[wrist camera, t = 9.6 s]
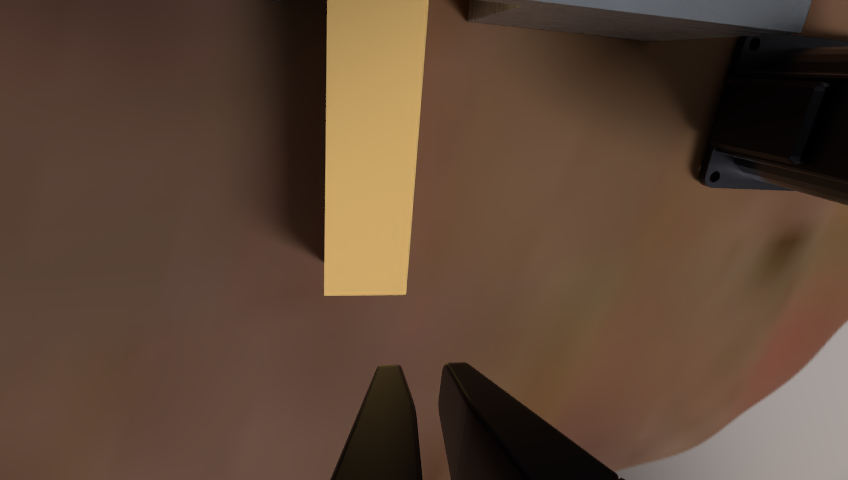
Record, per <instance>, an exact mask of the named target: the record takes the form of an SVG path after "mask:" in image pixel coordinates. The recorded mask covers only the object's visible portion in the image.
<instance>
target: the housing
mask: <svg viewBox="0 0 848 480" xmlns="http://www.w3.org/2000/svg"><path fill="white" fill-rule="evenodd" d="M273 1H282V2H284V0H273ZM811 1H812V0H469V6H468V16H467V22H477V23H486V24H495V25H504V26H514V27H523V28H532V29H541V30H551V31H560V32H569V33H578V34H588V35H597V36H606V37H616V38H625V39H634V40H643V41H668V40H686V39H703V38H721V37H738V36H756V35H774V34H791V33H801V32H802V29H803V26H804V23H805V20H806V17H807V14H808V11H809V8H810V4H811Z"/></svg>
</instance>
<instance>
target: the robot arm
mask: <svg viewBox="0 0 848 480" xmlns="http://www.w3.org/2000/svg"><path fill="white" fill-rule="evenodd" d="M751 40H752V46H751V48H749V43H750V41H751ZM712 173H713V176H712V178H711V179H710V176H711V174H712ZM698 179H699V182H700V183H701V184H702V185H705V186H708V187H711V188H734V189H760V190H787V191H798V192H802V193H805V194H809V195H812V196H816V197H820V198H823V199H827V200H830V201H834V202H837V203H841V204H844V205H848V41H840V40H832V39H823V38H815V37H806V36H798V35H790V34H774V35H756V36H740V38H739V39H738V41H737V43H736V47H735V50H734V54H733V57H732V61H731V64H730V68H729V71H728V75H727V78H726V82H725V85H724V89H723V92H722V96H721V99H720V103H719V106H718V110H717V113H716V117H715V120H714V124H713V127H712V130H711V134H710V137H709V141H708V144H707V148H706V151H705V155H704V158H703V162H702V165H701V169H700V172H699V178H698ZM438 405H439V416H440V421H441V427H442V432H443V438H444V443H445V449H446V454H447V460H448V465H449V471H450V476H451V480H625V479H623V478H620V479H619V478H618V475H617V474H616V473H615V472H614V471H612V470H611V469H609V468H608V467H607V466H605V465H604V464H603V463H601V462H600V461H599V460H597V459H596V458H595V457H593V456H592V455H591V454H589V453H588V452H587V451H585V450H584V449H582V448H581V447H580V446H578V445H577V444H576V443H574V442H573V441H572V440H570V439H569V438H568V437H566V436H565V435H564V434H562V433H561V432H560V431H558V430H557V429H555V428H554V427H553V426H551V425H550V424H549V423H547V422H546V421H545V420H543V419H542V418H541V417H539V416H538V415H537V414H535V413H534V412H533V411H531V410H530V409H529V408H527V407H526V406H524V405H523V404H522V403H520V402H519V401H518V400H516V399H515V398H514V397H512V396H511V395H510V394H508V393H507V392H506V391H504V390H503V389H502V388H500V387H499V386H497V385H496V384H495V383H493V382H492V381H491V380H489V379H488V378H487V377H485V376H484V375H483V374H481V373H480V372H479V371H477V370H476V369H475V368H473V367H472V366H471V365H469V364H467V363H465V362H459V363H446V364H445V365H444V367H443V370H442V377H441V385H440V393H439V404H438ZM330 480H422V469H421V459H420V448H419V438H418V427H417V417H416V410H415V405H414V402H413V399H412V396H411V393H410V390H409V387H408V384H407V381H406V378H405V376H404V373H403V370H402V368H401V366H400V365H380V366H378V367H377V369H376V372H375V374H374V376H373V379H372V381H371V384H370V386H369V388H368V391H367V393H366V396H365V398H364V400H363V403H362V405H361V408H360V410H359V412H358V415H357V417H356V420H355V422H354V424H353V427H352V429H351V431H350V434H349V436H348V439H347V441H346V443H345V446H344V448H343V451H342V453H341V455H340V458H339V460H338V463H337V465H336V467H335V470H334V472H333V475H332V477H331V479H330Z"/></svg>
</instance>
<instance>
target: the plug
mask: <svg viewBox="0 0 848 480" xmlns="http://www.w3.org/2000/svg"><path fill="white" fill-rule="evenodd" d="M428 4H429V0H327V68H326V165H325V261H324V296H348V295H406V288H407V275H408V262H409V249H410V236H411V223H412V211H413V198H414V185H415V172H416V159H417V146H418V133H419V120H420V107H421V94H422V82H423V69H424V56H425V43H426V30H427V17H428Z"/></svg>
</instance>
